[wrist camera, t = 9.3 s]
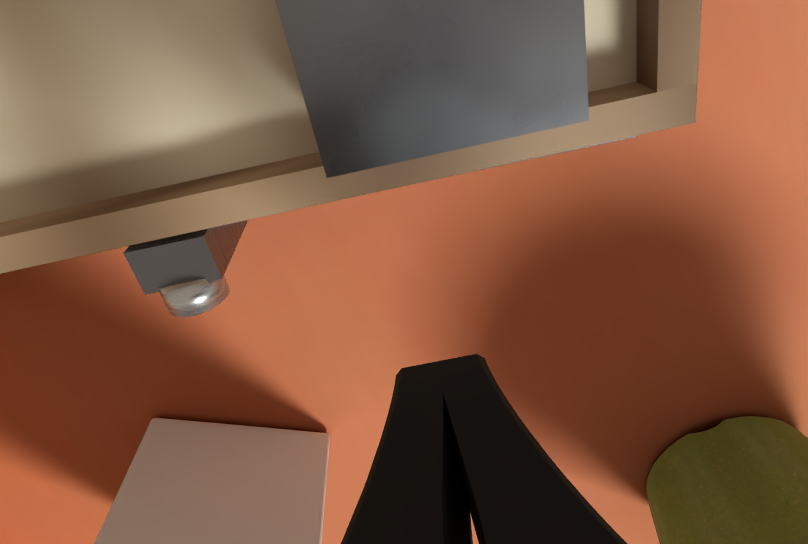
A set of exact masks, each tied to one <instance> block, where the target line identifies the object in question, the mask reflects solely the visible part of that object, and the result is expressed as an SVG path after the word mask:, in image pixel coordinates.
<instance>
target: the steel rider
mask: <svg viewBox="0 0 808 544" xmlns="http://www.w3.org/2000/svg"><path fill="white" fill-rule="evenodd" d="M275 2H276V6H277V9H278V12H279V16H280V19H281V23H282V26H283V30H284V33H285V36H286V40H287V43H288V47H289V50H290V54H291V57H292V60H293V64H294V67H295V71H296V74H297V77H298V81H299V84H300V88H301V91H302V95H303V98H304V101H305V105H306V108H307V112H308V115H309V119H310V122H311V125H312V129H313V132H314V136H315V139H316V143H317V146H318V149H319V153H320V156H321V160H322V163H323V167H324V170H325V173H326V177H327V178H330V177H335V176H339V175H344V174H348V173H353V172H357V171H362V170H366V169H371V168H375V167H380V166H385V165H389V164H394V163H398V162H403V161H407V160H412V159H416V158H421V157H425V156H430V155H435V154H439V153H444V152H448V151H453V150H457V149H462V148H466V147H471V146H476V145H480V144H485V143H489V142H494V141H498V140H503V139H507V138H512V137H516V136H521V135H526V134H530V133H535V132H539V131H544V130H548V129H553V128H557V127H562V126H566V125H571V124H576V123H580V122H585V121H589V106H588V82H587V58H586V35H585V11H584V0H275Z"/></svg>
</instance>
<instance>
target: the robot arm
mask: <svg viewBox="0 0 808 544" xmlns="http://www.w3.org/2000/svg"><path fill="white" fill-rule="evenodd" d="M470 513H471V516H472V520H473V524H474V527H475V531H476V535H477V538H478V542H479V544H627V543H626V542H625V541H624V540H623V539H622V538H621V537H620V536H619V535H618V534H617V533H616V532H615V531H614V530H613V529H612V527H611V526H610V525H609V524H608V523H607V522H606V521H605V520H604V519H603V518H602V517H601V516H600V515H599V514H598V513H597V511H596V510H595V509H594V508H593V507H592V506H591V505H590V504H589V503H588V502H587V500H586V499H585V498H584V497H583V496H582V495H581V494H580V492H579V491H578V490H577V489H576V488H575V487H574V486H573V484H572V483H571V482H570V481H569V480H568V479H567V478H566V476H565V475H564V474H563V473H562V472H561V470H560V469H559V468H558V467H557V466H556V464H555V463H554V462H553V461H552V460H551V458H550V457H549V456H548V455H547V453H546V452H545V451H544V449H543V448H542V447H541V446H540V444H539V443H538V442H537V440H536V439H535V438H534V436H533V435H532V434H531V433H530V431H529V430H528V429H527V427H526V426H525V425H524V423H523V422H522V420H521V419H520V418H519V416H518V415H517V413H516V412H515V411H514V409H513V408H512V406H511V405H510V403H509V402H508V400H507V399H506V397H505V395H504V394H503V392H502V391H501V389H500V387H499V386H498V384H497V382H496V381H495V379H494V377H493V375H492V373H491V371H490V369H489V367H488V365H487V363H486V360H485V358H483V357H481V356H480V355H478V354H474V355H468V356H463V357H458V358H453V359H448V360H442V361H437V362H432V363H427V364H422V365H417V366H411V367H406V368H402V369H401V370H400V371H399V372H398V374H397V375H396V380H395V387H394V391H393V396H392V400H391V405H390V409H389V412H388V416H387V420H386V423H385V426H384V430H383V433H382V437H381V440H380V443H379V446H378V449H377V452H376V455H375V458H374V460H373V463H372V466H371V469H370V472H369V475H368V478H367V481H366V483H365V486H364V489H363V491H362V494H361V496H360V499H359V501H358V504H357V506H356V508H355V511H354V513H353V516H352V518H351V521H350V523H349V526H348V528H347V530H346V533H345V535H344V538H343V540H342V542H341V544H473V541H472V529H471V517H470Z"/></svg>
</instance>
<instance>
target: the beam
mask: <svg viewBox="0 0 808 544" xmlns="http://www.w3.org/2000/svg"><path fill="white" fill-rule="evenodd" d="M701 9H702V0H584V11H585V35H586V58H587V82H588V106H589V121H585V122H580V123H576V124H571V125H566V126H562V127H557V128H553V129H548V130H544V131H539V132H535V133H530V134H526V135H521V136H516V137H512V138H507V139H503V140H498V141H494V142H489V143H485V144H480V145H476V146H471V147H466V148H462V149H457V150H453V151H448V152H444V153H439V154H435V155H430V156H425V157H421V158H416V159H412V160H407V161H403V162H398V163H394V164H389V165H385V166H380V167H375V168H371V169H366V170H362V171H357V172H353V173H348V174H344V175H339V176H335V177H330V178H327V177H326V173H325V170H324V167H323V163H322V160H321V156H320V153H319V149H318V146H317V143H316V139H315V136H314V132H313V129H312V125H311V122H310V119H309V115H308V112H307V108H306V105H305V101H304V98H303V95H302V91H301V88H300V84H299V81H298V77H297V74H296V71H295V67H294V64H293V60H292V57H291V54H290V50H289V47H288V43H287V40H286V36H285V33H284V30H283V26H282V23H281V19H280V16H279V12H278V9H277V6H276V2H275V0H0V274H1V273H5V272H10V271H14V270H19V269H24V268H28V267H33V266H38V265H42V264H47V263H51V262H56V261H61V260H65V259H70V258H74V257H79V256H84V255H88V254H93V253H97V252H102V251H107V250H111V249H116V248H120V247H125V246H130V245H134V244H139V243H143V242H148V241H153V240H157V239H162V238H167V237H171V236H176V235H180V234H185V233H190V232H194V231H199V230H203V229H208V228H213V227H217V226H222V225H226V224H231V223H236V222H240V221H245V220H249V219H254V218H259V217H263V216H268V215H272V214H277V213H282V212H286V211H291V210H296V209H300V208H305V207H309V206H314V205H319V204H323V203H328V202H332V201H337V200H342V199H346V198H351V197H355V196H360V195H365V194H369V193H374V192H378V191H383V190H388V189H392V188H397V187H401V186H406V185H411V184H415V183H420V182H425V181H429V180H434V179H438V178H443V177H448V176H452V175H457V174H461V173H466V172H471V171H475V170H480V169H484V168H489V167H494V166H498V165H503V164H507V163H512V162H517V161H521V160H526V159H530V158H535V157H540V156H544V155H549V154H554V153H558V152H563V151H567V150H572V149H577V148H581V147H586V146H590V145H595V144H600V143H604V142H609V141H613V140H618V139H623V138H627V137H632V136H636V135H641V134H646V133H650V132H655V131H659V130H664V129H669V128H673V127H678V126H682V125H687V124H692V123H695V121H696V103H697V84H698V65H699V46H700V28H701Z"/></svg>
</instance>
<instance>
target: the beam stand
mask: <svg viewBox="0 0 808 544" xmlns="http://www.w3.org/2000/svg"><path fill="white" fill-rule="evenodd" d="M632 137H637V135H636V136H632ZM632 137H627V138H632ZM627 138H623V139H627ZM623 139H618V140H623ZM618 140H613V141H618ZM613 141H609V142H613ZM609 142H604V143H609ZM604 143H600V144H604ZM595 145H599V144H595ZM590 146H594V145H590ZM590 146H586V147H590ZM581 148H585V147H581ZM577 149H580V148H577ZM572 150H576V149H572ZM567 151H571V150H567ZM563 152H566V151H563ZM558 153H561V152H558ZM554 154H557V153H554ZM549 155H552V154H549ZM544 156H547V155H544ZM540 157H543V156H540ZM535 158H538V157H535ZM530 159H533V158H530ZM526 160H529V159H526ZM521 161H524V160H521ZM517 162H519V161H517ZM512 163H514V162H512ZM507 164H510V163H507ZM503 165H505V164H503ZM498 166H500V165H498ZM494 167H496V166H494ZM489 168H491V167H489ZM484 169H486V168H484ZM480 170H481V169H480ZM475 171H477V170H475ZM471 172H472V171H471ZM466 173H467V172H466ZM461 174H463V173H461ZM457 175H458V174H457ZM452 176H453V175H452ZM448 177H449V176H448ZM443 178H444V177H443ZM438 179H439V178H438ZM429 181H430V180H429ZM415 184H416V183H415ZM247 221H248V220H245V221H240V222H236V223H231V224H226V225H222V226H217V227H213V228H208V229H203V230H199V231H194V232H190V233H185V234H180V235H176V236H171V237H167V238H162V239H157V240H153V241H148V242H143V243H139V244H134V245H130V246H129V247H128V248H127V249H126V251H125V252H124V255H125V257H126V259H127V261H128V263H129V265H130V267H131V268H132V270H133V272H134V274H135V276H136V278H137V280H138V282H139V284H140V286H141V288H142V290H143V292H144V293H145V295H146V294H150V293H155V292H159V293H160V295H161V297H162V299H163V301H164V303H165V305H166V307H167V309H168V311H169V313H170V314H171V315H173V316H175V317H190V316H194V315H198V314H201V313H203V312H206V311H208V310H210V309H212V308H214V307H215V306H217V305H218V304H220V303H221V302H222V301H223V300H224V299H225V298H226V297H227V295H228V293H229V286H228V283H227V281H226V279H225V276H224V273H225V271H226V269H227V267H228V264H229V262H230V260H231V258H232V255H233V253H234V251H235V248H236V246H237V244H238V242H239V239H240V237H241V235H242V233H243V230H244V228H245V226H246V224H247Z"/></svg>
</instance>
